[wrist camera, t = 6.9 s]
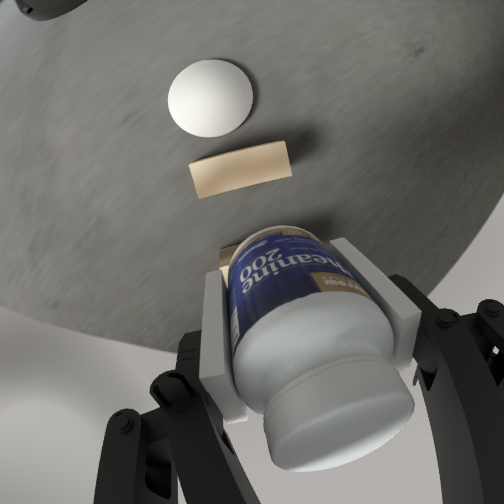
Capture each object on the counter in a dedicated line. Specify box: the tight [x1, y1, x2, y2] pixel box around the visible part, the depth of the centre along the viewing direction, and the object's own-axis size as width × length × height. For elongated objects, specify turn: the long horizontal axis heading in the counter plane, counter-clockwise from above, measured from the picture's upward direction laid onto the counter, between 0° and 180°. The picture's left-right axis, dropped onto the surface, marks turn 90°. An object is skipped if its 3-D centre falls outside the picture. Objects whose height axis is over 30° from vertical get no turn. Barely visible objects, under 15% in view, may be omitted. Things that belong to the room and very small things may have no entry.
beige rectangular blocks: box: [189, 141, 292, 288], centre depth 26 cm, size 12×8×4 cm, turn 13°
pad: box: [168, 60, 253, 137], centre depth 23 cm, size 8×8×1 cm
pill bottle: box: [228, 225, 415, 472], centre depth 10 cm, size 5×5×10 cm
